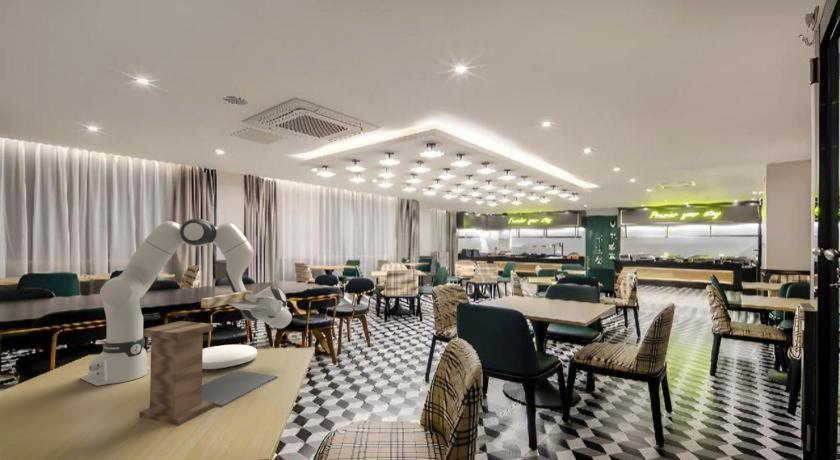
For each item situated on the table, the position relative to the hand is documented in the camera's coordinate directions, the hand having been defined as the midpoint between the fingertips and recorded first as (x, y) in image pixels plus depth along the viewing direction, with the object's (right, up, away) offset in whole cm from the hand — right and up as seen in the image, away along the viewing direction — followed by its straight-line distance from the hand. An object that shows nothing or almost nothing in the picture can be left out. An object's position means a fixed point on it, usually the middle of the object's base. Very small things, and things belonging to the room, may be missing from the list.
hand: (240, 295), depth 138 cm
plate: (-18, -33, +22) cm, 43 cm away
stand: (-8, -32, -24) cm, 40 cm away
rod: (-2, -2, -5) cm, 6 cm away
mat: (-1, -32, -5) cm, 32 cm away
